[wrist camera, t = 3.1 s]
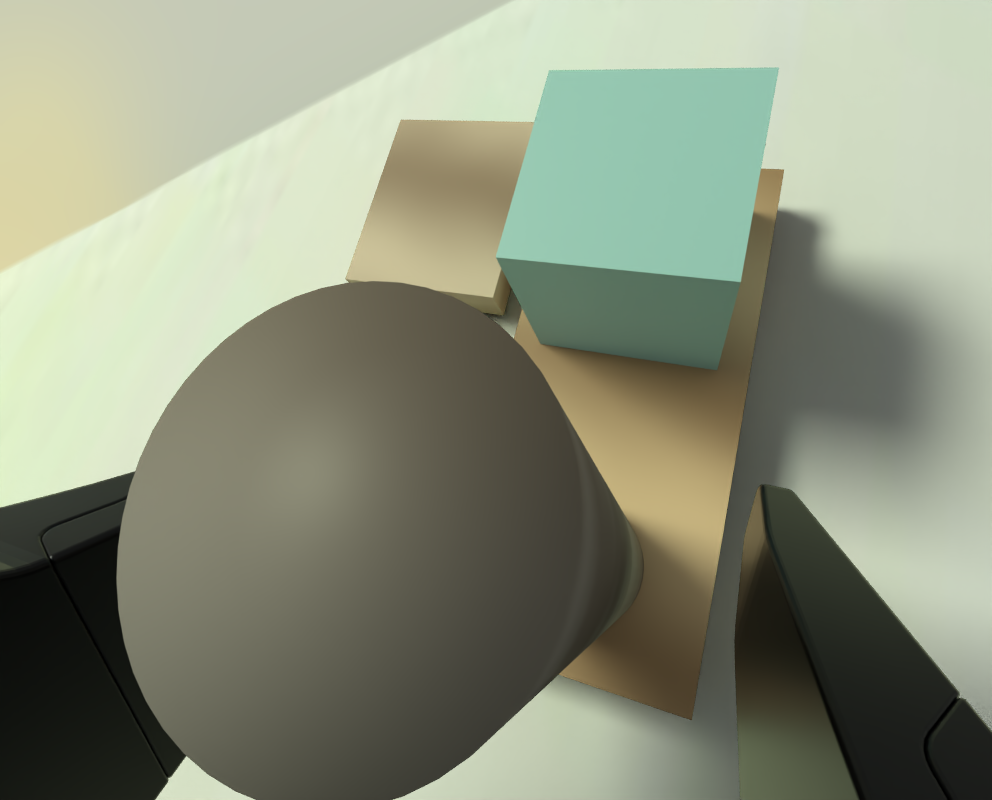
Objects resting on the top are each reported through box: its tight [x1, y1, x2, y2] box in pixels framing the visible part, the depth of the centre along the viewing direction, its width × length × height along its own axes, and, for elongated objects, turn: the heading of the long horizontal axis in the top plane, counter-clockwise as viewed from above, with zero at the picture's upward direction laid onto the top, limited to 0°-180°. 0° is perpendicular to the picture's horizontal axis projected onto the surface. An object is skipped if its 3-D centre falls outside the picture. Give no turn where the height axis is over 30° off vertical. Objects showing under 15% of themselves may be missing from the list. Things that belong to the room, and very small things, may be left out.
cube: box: [496, 68, 779, 370], centre depth 13 cm, size 4×4×4 cm
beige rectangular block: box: [345, 120, 534, 315], centre depth 18 cm, size 14×5×1 cm, turn 165°
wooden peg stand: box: [117, 169, 784, 800], centre depth 10 cm, size 14×6×12 cm, turn 165°
